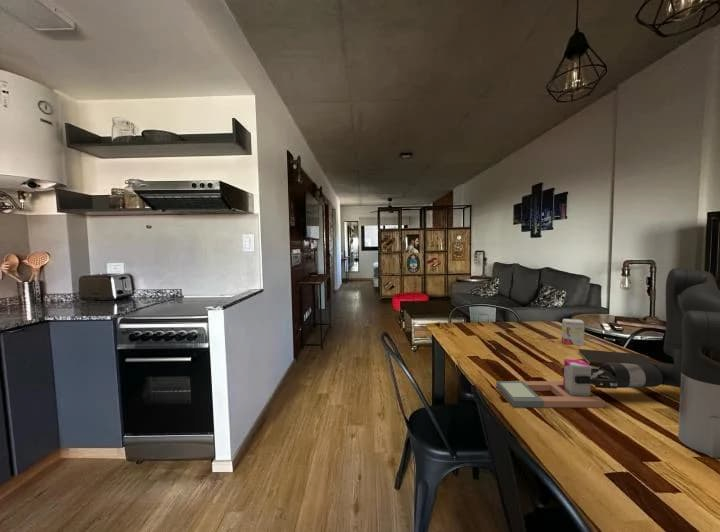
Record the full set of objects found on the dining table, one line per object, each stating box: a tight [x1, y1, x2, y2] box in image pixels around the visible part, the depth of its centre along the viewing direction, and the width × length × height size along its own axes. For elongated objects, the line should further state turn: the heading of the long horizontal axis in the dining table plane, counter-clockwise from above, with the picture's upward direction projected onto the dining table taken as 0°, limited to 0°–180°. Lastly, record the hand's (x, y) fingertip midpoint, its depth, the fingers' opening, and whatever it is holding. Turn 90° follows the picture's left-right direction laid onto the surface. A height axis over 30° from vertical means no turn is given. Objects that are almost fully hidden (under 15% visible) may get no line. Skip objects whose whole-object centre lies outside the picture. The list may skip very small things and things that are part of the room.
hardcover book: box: [578, 348, 655, 367], centre depth 130 cm, size 16×23×2 cm
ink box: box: [561, 318, 585, 347], centre depth 154 cm, size 9×5×12 cm, turn 67°
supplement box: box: [562, 358, 592, 396], centre depth 102 cm, size 6×6×12 cm
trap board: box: [496, 380, 606, 409], centre depth 103 cm, size 14×27×2 cm, turn 87°
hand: (569, 375), depth 102 cm, fingers closed on supplement box, 6 cm apart
